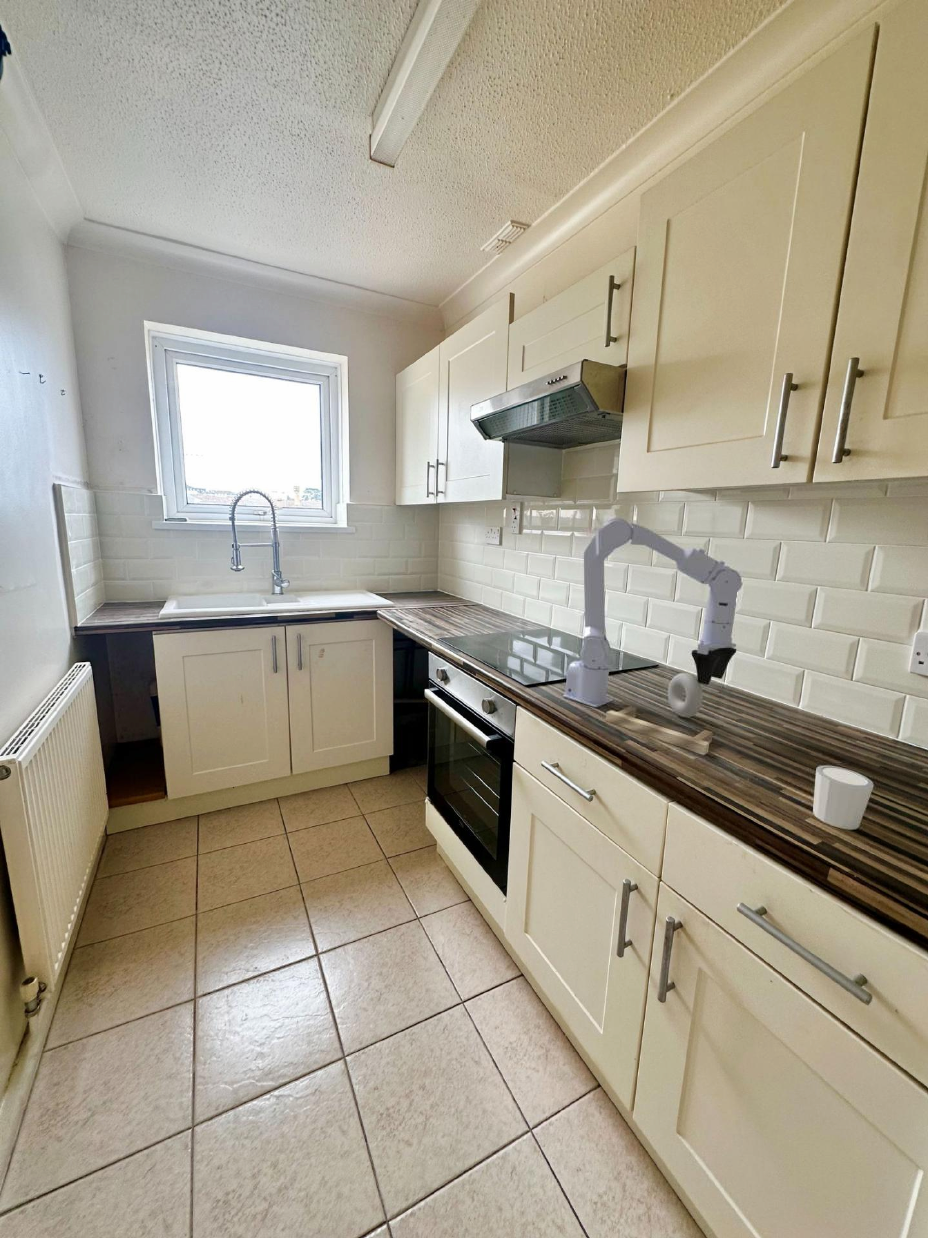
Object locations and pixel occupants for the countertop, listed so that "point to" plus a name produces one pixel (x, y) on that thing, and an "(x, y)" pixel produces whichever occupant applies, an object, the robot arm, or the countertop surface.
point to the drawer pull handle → (660, 731)
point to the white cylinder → (840, 796)
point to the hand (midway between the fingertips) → (710, 680)
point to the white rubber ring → (692, 695)
